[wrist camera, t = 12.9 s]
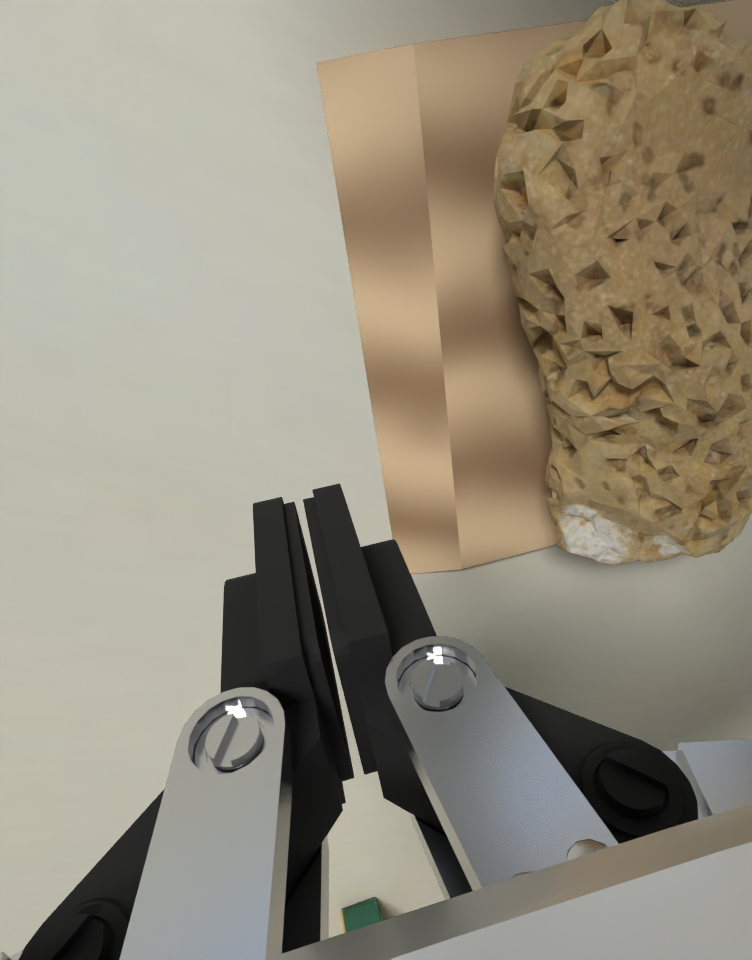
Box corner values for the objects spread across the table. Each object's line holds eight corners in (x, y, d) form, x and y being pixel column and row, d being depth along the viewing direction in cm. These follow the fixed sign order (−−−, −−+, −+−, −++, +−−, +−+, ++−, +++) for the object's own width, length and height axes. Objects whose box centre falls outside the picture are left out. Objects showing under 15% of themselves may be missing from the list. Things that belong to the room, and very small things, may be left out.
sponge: (689, 468, 31) (893, -16, 18) (772, 577, 24) (1171, -39, 12) (451, 478, 30) (489, -2, 18) (476, 590, 24) (560, -19, 12)
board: (276, 75, 20) (279, 62, 18) (807, 0, 22) (855, -18, 20) (370, 568, 30) (377, 591, 28) (724, 478, 32) (751, 494, 31)
